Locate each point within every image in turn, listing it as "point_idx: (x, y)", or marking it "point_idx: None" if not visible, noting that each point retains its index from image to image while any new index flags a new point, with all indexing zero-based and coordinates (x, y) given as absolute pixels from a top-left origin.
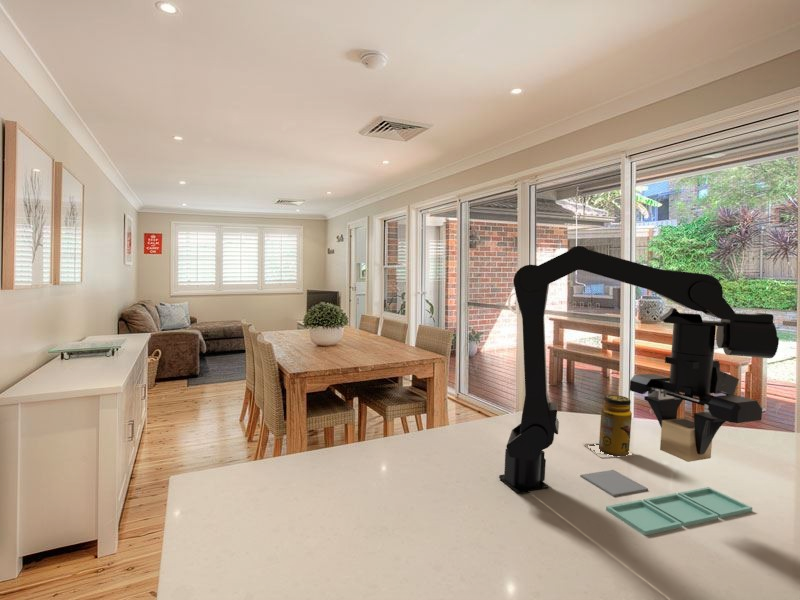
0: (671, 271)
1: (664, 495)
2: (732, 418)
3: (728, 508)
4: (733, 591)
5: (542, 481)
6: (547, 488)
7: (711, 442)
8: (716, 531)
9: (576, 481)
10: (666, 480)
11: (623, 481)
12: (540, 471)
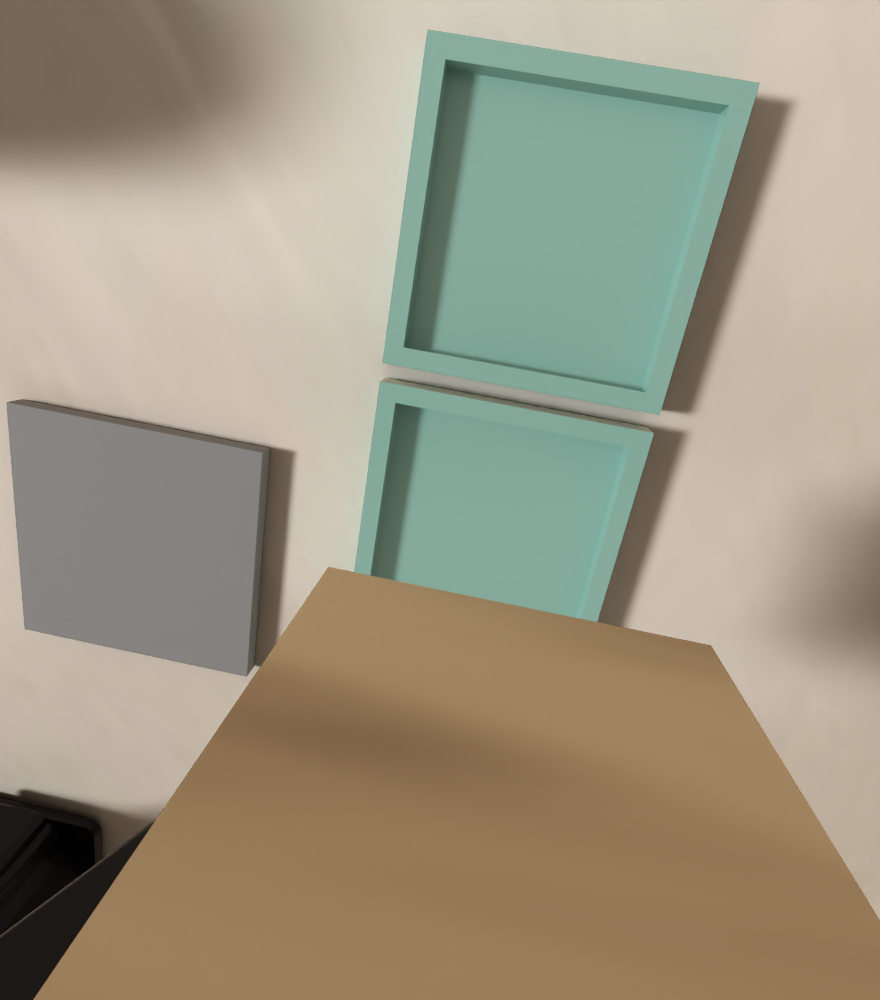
0: None
1: (369, 477)
2: None
3: (634, 220)
4: (870, 889)
5: (52, 832)
6: (99, 832)
7: (810, 824)
8: (683, 547)
9: (65, 663)
10: (201, 160)
11: (150, 497)
12: (16, 894)
